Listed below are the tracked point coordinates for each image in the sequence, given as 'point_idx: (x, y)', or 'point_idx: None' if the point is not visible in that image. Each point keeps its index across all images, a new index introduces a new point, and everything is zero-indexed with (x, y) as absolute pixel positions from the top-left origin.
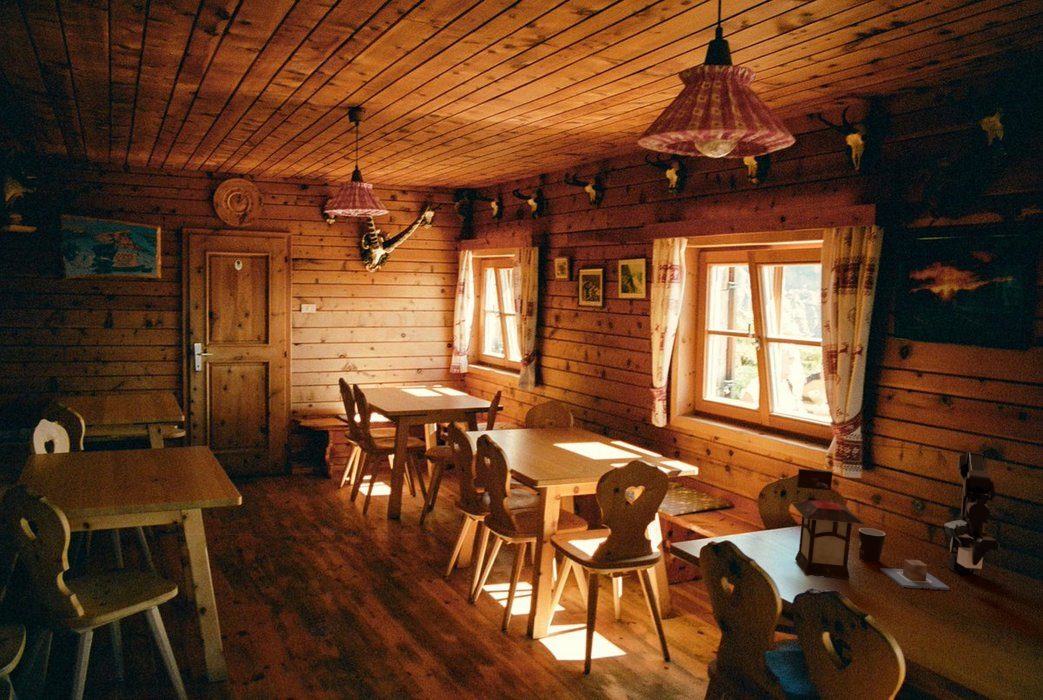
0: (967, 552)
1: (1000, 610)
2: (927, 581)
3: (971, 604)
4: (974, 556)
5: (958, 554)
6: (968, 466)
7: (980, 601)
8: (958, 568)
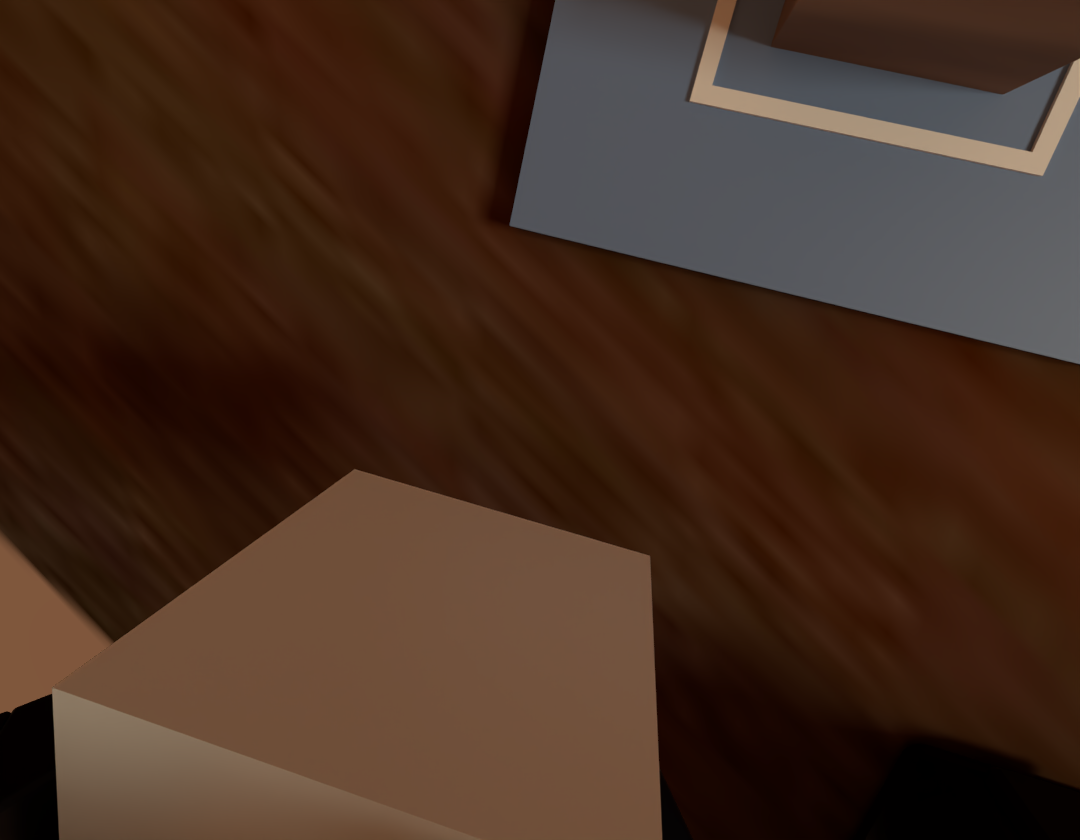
0: (79, 684)
1: (58, 346)
2: (744, 57)
3: (155, 156)
4: (29, 705)
5: (626, 668)
6: None
7: (234, 331)
8: (974, 819)
